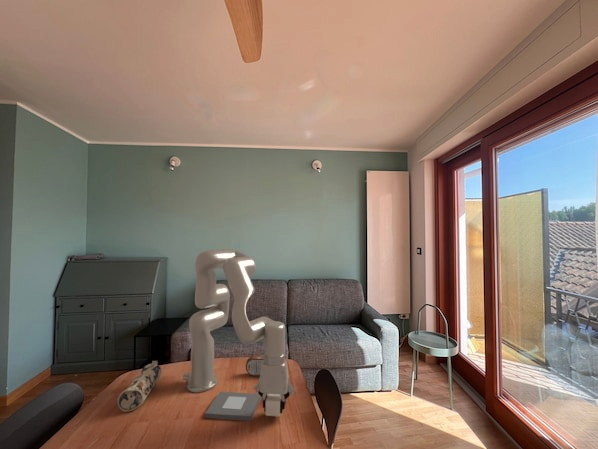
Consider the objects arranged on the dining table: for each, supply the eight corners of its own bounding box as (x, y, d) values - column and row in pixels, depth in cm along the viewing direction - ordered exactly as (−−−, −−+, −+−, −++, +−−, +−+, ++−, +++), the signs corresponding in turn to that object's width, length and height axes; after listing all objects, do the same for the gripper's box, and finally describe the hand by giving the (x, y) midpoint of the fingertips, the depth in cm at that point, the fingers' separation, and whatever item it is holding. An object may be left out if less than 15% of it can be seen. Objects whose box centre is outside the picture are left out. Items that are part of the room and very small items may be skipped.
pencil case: (141, 383, 113) (142, 360, 114) (162, 381, 115) (162, 359, 115) (115, 417, 92) (115, 389, 92) (140, 414, 93) (141, 386, 94)
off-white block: (265, 415, 89) (265, 400, 89) (268, 405, 94) (268, 391, 94) (279, 416, 88) (279, 401, 88) (282, 406, 93) (282, 392, 93)
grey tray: (204, 417, 91) (204, 412, 91) (220, 395, 104) (220, 391, 104) (251, 420, 89) (251, 415, 89) (260, 397, 102) (260, 393, 102)
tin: (278, 373, 120) (278, 355, 121) (277, 376, 117) (277, 358, 118) (246, 373, 121) (246, 355, 121) (244, 376, 118) (245, 358, 118)
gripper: (248, 361, 89) (247, 415, 88) (296, 364, 87) (296, 419, 86) (254, 351, 96) (253, 401, 96) (299, 354, 95) (298, 405, 94)
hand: (273, 409), depth 91 cm, fingers closed on off-white block, 5 cm apart
